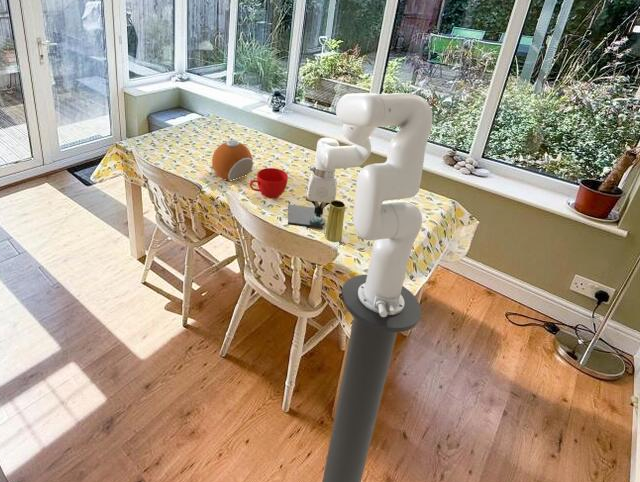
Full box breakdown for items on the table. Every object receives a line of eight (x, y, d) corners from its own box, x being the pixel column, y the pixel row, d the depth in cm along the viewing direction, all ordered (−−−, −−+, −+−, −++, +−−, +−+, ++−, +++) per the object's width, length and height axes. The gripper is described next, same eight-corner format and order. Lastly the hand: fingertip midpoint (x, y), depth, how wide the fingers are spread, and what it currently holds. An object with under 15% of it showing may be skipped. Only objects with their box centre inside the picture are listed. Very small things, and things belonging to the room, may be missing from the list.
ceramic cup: (243, 192, 180) (243, 172, 176) (277, 185, 186) (278, 166, 182) (255, 207, 169) (257, 185, 165) (291, 199, 175) (293, 179, 171)
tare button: (321, 222, 155) (321, 219, 154) (314, 222, 155) (314, 219, 154) (320, 219, 157) (321, 216, 156) (314, 218, 157) (314, 215, 157)
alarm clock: (236, 163, 207) (237, 131, 200) (259, 177, 194) (260, 143, 187) (204, 173, 196) (204, 140, 190) (226, 188, 183) (227, 153, 177)
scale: (324, 230, 154) (325, 224, 153) (287, 225, 156) (288, 220, 155) (322, 210, 167) (323, 205, 166) (288, 206, 170) (289, 201, 169)
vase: (343, 242, 147) (349, 208, 141) (326, 242, 146) (331, 208, 141) (339, 232, 152) (344, 199, 147) (322, 232, 152) (327, 199, 147)
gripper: (303, 173, 147) (298, 218, 153) (346, 178, 144) (339, 223, 151) (303, 165, 153) (298, 208, 160) (344, 169, 151) (337, 213, 158)
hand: (318, 215), depth 155 cm, fingers closed
